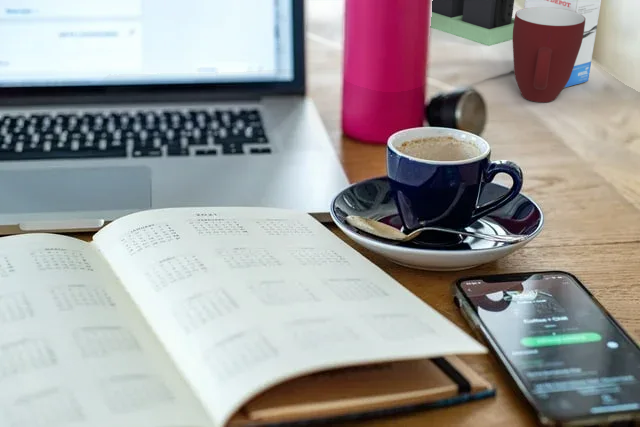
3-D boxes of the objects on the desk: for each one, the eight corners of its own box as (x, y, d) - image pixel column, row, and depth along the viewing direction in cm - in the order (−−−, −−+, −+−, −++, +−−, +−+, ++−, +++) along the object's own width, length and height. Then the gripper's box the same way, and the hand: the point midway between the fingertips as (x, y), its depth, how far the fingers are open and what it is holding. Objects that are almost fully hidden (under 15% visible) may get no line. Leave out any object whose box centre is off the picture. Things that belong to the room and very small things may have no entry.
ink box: (590, 82, 112) (605, -11, 107) (563, 89, 110) (578, -5, 104) (540, 63, 119) (552, -25, 113) (514, 70, 116) (525, -20, 111)
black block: (447, 15, 136) (450, -14, 134) (472, 23, 133) (475, -7, 131) (425, 21, 134) (427, -9, 131) (449, 29, 130) (452, -2, 128)
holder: (410, 24, 134) (411, 7, 133) (447, 15, 139) (448, -1, 137) (488, 49, 124) (490, 31, 122) (525, 39, 128) (527, 21, 127)
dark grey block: (484, 15, 131) (488, -15, 129) (511, 23, 127) (515, -8, 125) (461, 21, 128) (464, -10, 126) (488, 29, 125) (491, -3, 122)
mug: (579, 119, 101) (593, 34, 97) (507, 114, 102) (518, 30, 97) (568, 87, 110) (581, 8, 106) (503, 83, 111) (513, 5, 107)
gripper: (570, -106, 115) (550, 30, 124) (472, -122, 127) (460, 4, 135) (534, -101, 111) (516, 39, 120) (436, -118, 122) (426, 11, 131)
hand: (486, 19), depth 127 cm, fingers closed on dark grey block, 4 cm apart
